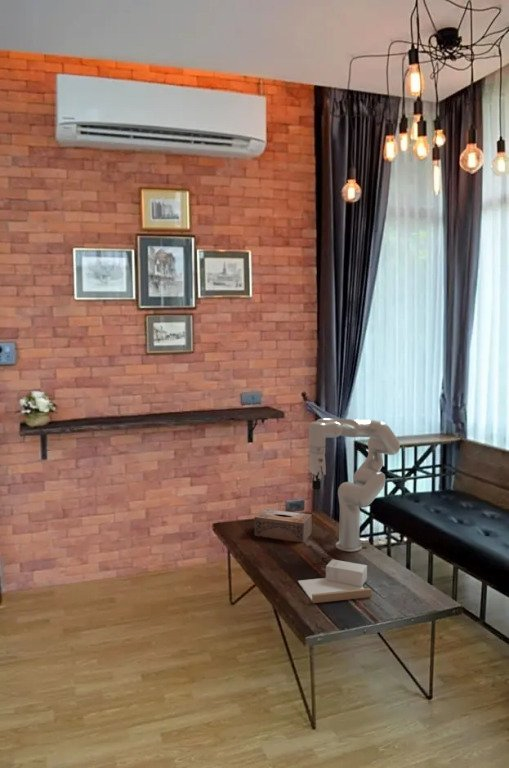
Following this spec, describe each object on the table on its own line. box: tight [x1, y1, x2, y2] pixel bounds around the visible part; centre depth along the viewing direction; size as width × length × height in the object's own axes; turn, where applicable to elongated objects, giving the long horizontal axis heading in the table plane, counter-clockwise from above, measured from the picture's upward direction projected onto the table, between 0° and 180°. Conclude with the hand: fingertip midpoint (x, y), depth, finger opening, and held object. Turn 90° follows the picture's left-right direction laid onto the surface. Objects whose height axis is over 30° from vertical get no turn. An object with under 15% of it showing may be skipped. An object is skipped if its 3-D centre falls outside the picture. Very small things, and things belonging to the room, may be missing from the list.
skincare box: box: [325, 558, 368, 587], centre depth 250 cm, size 8×7×16 cm
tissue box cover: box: [253, 508, 313, 543], centre depth 306 cm, size 26×14×10 cm, turn 69°
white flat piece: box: [297, 577, 372, 604], centre depth 243 cm, size 24×19×3 cm
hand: (316, 488), depth 273 cm, fingers closed
